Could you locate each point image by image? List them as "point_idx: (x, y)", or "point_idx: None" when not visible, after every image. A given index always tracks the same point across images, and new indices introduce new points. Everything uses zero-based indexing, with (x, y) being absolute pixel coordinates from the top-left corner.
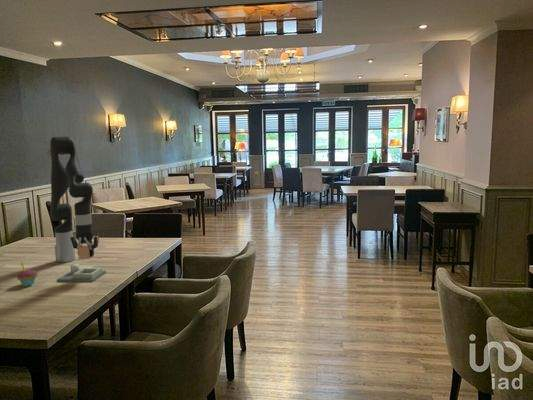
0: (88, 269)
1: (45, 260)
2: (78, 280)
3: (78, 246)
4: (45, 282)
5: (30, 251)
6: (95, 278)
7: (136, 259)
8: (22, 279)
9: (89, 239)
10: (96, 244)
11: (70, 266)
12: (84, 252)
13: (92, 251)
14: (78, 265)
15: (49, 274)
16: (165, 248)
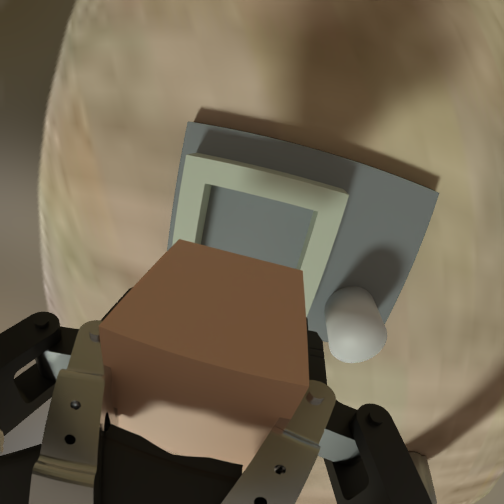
0: None
1: (449, 460)
2: (292, 143)
3: (306, 424)
4: (482, 198)
5: (460, 491)
6: (181, 162)
7: None
8: None
9: (23, 459)
10: (32, 381)
11: (385, 329)
12: (200, 294)
13: (108, 313)
14: (331, 333)
15: (468, 333)
16: None
